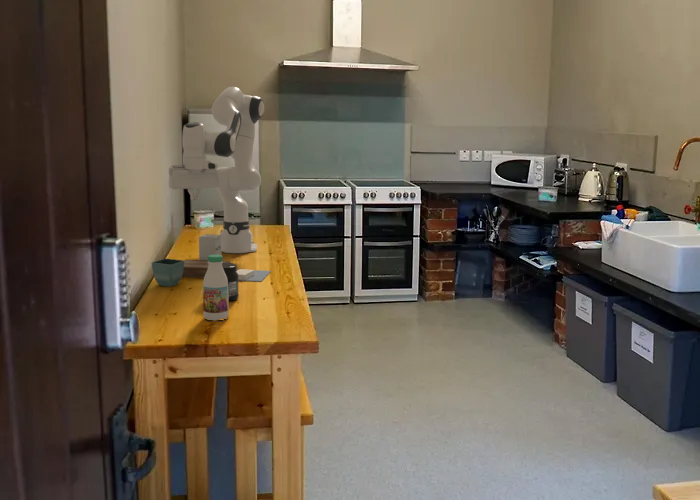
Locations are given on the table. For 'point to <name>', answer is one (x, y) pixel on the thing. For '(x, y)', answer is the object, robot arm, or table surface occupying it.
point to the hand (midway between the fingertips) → (195, 199)
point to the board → (196, 268)
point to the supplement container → (231, 280)
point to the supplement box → (209, 246)
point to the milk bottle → (215, 290)
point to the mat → (257, 276)
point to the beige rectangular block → (245, 274)
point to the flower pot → (168, 271)
